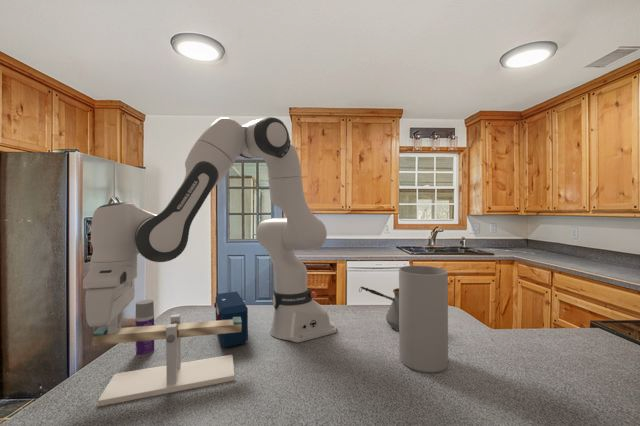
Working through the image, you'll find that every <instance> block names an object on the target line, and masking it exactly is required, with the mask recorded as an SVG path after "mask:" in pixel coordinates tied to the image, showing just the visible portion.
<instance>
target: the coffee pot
mask: <svg viewBox="0 0 640 426" xmlns="http://www.w3.org/2000/svg"><path fill="white" fill-rule="evenodd" d="M358 289H359V290H358V292H359V293H361V292H362V290H364V291H366V292H369V293H371V294H373V295H376V296H379V297H382V298H386V299H388V300H390V301H391V304H390V306H389V309H388V311H387V313H386V316H385V320H386V322H387V324H388V325H389V326H390V328H392V329H393V330H395V331H399V287H397V288H394V289H393V290H392V292H393V293H394V297H392V296H388V295H387V294H386V295H385V294H384V293H382V292H379V291H376V290H374V289H371V288H368V287H364V286H360V287H359V288H358Z"/></svg>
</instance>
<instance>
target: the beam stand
mask: <svg viewBox="0 0 640 426" xmlns="http://www.w3.org/2000/svg"><path fill="white" fill-rule="evenodd" d="M173 322H178V323H181V313H175V314H171V316H170V323H168V325H167V324H166V325H167V327H166V339H165V344H166V345H165V346H166V347H165V349H166V351H165V353H166V354H165V355H166V356H165V357H166V358H165V359H166V361H165V363H166V365H159V366H155V367H148V368H147V367H146V368H142V369H135V370H129V371H122V372H117V373H114V375H113V376H112V378H111V379H110V381H109V382H108V384H107V385H106V387H105V389H104V390H103V392H102V393H101V395H100V397H99V398H98V400H97V407H102V406H107V405H108V406H109V405H112V404H117V403H124V402H128V401H134V400H138V399H143V398H148V397H149V398H150V397H155V396H158V395H164V394H165V395H166V394H169V393H175V392H180V391H186V390H190V389H191V390H192V389H195V388H201V387H202V388H203V387H206V386H212V385H216V384H221V383H227V382H228V383H229V382H233V381H235V379H236V378H235V368H234V367H235V366H234V357H233V354H228V355H222V356H215V357H209V358H204V359H197V360H191V361H185V362H182V349H181V348H182V343H181V340H182V339H181V338H182V337H181V338H177V324H171V323H173Z"/></svg>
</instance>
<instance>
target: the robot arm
mask: <svg viewBox="0 0 640 426" xmlns="http://www.w3.org/2000/svg"><path fill="white" fill-rule="evenodd" d="M239 156H240V157H243V158H245V159H250V160H251V159H263V160H264V163H266V167H267V177H268V178H267V180H268V187H269V188H268V189H269V195H270V196H269V197H270V198H269V199H270V201H271V203H272V204H273V205H274V206H276V207H277V208H279V209H280V211H282V212H283V214H284V217H273V218H272V217H271V218H268V219H264V220H262V221H260V222H259V223H258V225H257V228H256V234H255V237H256V240H257V241H258V243H259V245H260V246H262V247H263V249H264V250H265V251H266V252H267V254H268V256H269V258H270V260H271V262H272V266H273V274H274V275H273V276H274V290H273V296H272V297H273V298H272V299H273V302H272V303H273V308H274V311H273V320H272V325H271V328H270V331H269V332H270V335H271V336H272V337H274V338H276V339H279V340H286V341H290V342H294V343H302V342H305V341H309V340H313V339H317V338H321V337H324V336H328V335H329V336H330V335H332V334H335V333H336V332H337V326H336V324H335V323H334V322H333V321H332V320H331V319H330V316H329V313H328V311H327V309H326V308H325V307H324V306H323V305H322V304H320V303H318V302H317V301H316V300H314V299H317V297H318V294H317V293H316V292H315V291H313V290H311V289H309V288H308V268H307V266H306V264H305V263H304V262H302V261H301V260H300V259H298V258H297V256H296V255H295V252H294V251H312V250H319V249H321V248H322V247H323V246H324V245H325V243H326V241H327V235H328V234H327V228H326V226H325V224H324V222H322V220H320V219H319V218H318V217H316V216H315V214H314V213H313V212H312V211H311V209H310V208H309V205H308V204H307V201H306V197H305V193H304V185H303V176H302V169H301V168H302V167H301V161H300V158H299V154H298V150H297V149H296V147H295V146H294V145H293V144H291V139H290V134H289V131H288V128H287V126H286V125H285V122H283V121H282V120H281V119H280V118H276V117H272V116H266V117H262V118H259V119H254V120H251V121H249V122H247V123H246V124H243V125H242V124H240V123H239V122H238V121H236V120H235V119H233V118H230V117H220V118H217V119H216V120H214V122H213V123H211V125H209V126H208V127H207V128H206V129H205V130H204V131H203V133H202V134H201V135H200V136H199V137H198V139H197V140H196V141H195V143H194V144H193V145H192V147H191V149H190V151H189V153H188V155H187V157H186V159H185V162H184V167H185V176H184V178H183V181H182V182H181V185H180V187H179V188H178V189H177V191H176V192H175V194H174V195H173V197H172V198H171V199H170V201H169V202H168V204H167V205H166V207H165V208H164V209H163V210H162V211H160V212H159V213H158V214H155V213H153V212H150V211H147V210H145V209H143V208H141V207H139V206H138V205H136V204H135V203H133V202H130V201H123V202H121V201H119V202H112V203H108V204H103V205H101V206H99V207H97V208H96V209H95V210H94V211H93V214H92V219H91V225H90V244H91V246H92V255H91V257H90V267H89V271H88V272H87V274H86V275H85V276H84V278H83V279H82V280H83V281H82V289H84V290H86V289H87V290H86V292H85V300H84V302H85V303H84V304H85V317H86V318H85V319H86V322H87V324H88V327H90V328H93V327H105V326H106V327H108V334H115V333H117V331H118V330H119V329H120V328H122V319H123V314H124V310H125V309H126V308H127V307H128V306H129V304H130V303H132V302H133V301H134V299H135V294H136V293H135V291H136V290H135V279H136V278H137V277H138V254H140V255H141V256H142V257H143V258H144V259H147V260H148V261H151V262H155V263H165V262H166V263H167V262H170V261H172V260H174V259H176V258H178V257H179V256H180V255H182V253H183V252H184V251H185V249H186V247H187V245H188V241H189V236H190V235H189V234H190V229H191V226H192V223H193V221H194V219H195V218H196V216H197V214H198V212H199V211H200V209H201V207H202V206H203V204H204V202H205V201H206V200H207V198H208V196H209V195H210V193H211V192H212V191H213V189H214V188H215V187H216V186H217V185H218V184H219V183H220V182H221V180H222V179H223V178H224V177H225V176H226V175H227V174H228V172H230V170H231V168H232V167H233V165H234V164H235V162H236V160H237V159H238V157H239Z"/></svg>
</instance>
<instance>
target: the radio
mask: <svg viewBox="0 0 640 426" xmlns="http://www.w3.org/2000/svg"><path fill="white" fill-rule="evenodd" d="M213 306H214V309H215V321H219V320H232V319H233V317H241V321H242V326H241V332H236V333H225V334H217V336H218V340H219V343H220V345H221V347H223V348H228V347H235V346H239V345H244V344H246V343H247V341H248V339H249V329H248V328H249V319H248V318H249V317H248V316H249V315H248V314H249V313H248V311H249V310H248V307H247V305H246V303H245V302H244V300H243V298H242V297H241V295H240V294H239V293H238V291H231V292H230V291H228V292H223V293H221V292H220V293H218V294H216V296H215V302H214V305H213Z"/></svg>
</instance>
